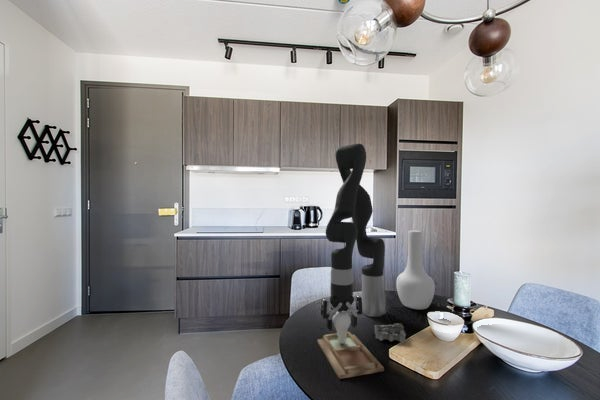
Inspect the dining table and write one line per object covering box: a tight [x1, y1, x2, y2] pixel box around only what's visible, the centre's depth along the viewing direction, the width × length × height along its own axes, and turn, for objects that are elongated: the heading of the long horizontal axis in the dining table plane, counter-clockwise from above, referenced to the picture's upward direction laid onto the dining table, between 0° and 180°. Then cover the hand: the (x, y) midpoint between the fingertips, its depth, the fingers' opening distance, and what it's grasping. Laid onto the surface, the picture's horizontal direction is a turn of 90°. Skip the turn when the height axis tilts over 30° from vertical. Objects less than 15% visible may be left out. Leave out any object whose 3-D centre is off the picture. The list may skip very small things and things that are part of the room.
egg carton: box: [373, 322, 407, 343], centre depth 99 cm, size 11×8×4 cm
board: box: [316, 331, 385, 380], centre depth 88 cm, size 14×20×2 cm
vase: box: [396, 229, 436, 310], centre depth 128 cm, size 17×17×35 cm
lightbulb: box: [332, 311, 351, 344], centre depth 92 cm, size 6×6×11 cm
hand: (341, 328), depth 92 cm, fingers open, 8 cm apart
